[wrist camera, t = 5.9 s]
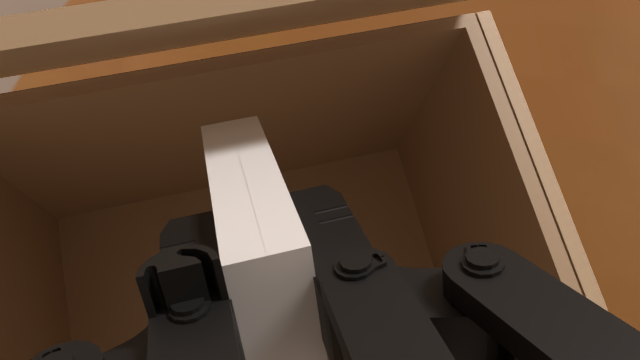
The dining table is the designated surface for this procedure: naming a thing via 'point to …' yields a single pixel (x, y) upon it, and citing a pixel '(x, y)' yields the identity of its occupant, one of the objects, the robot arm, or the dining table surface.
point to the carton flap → (162, 27)
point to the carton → (292, 159)
